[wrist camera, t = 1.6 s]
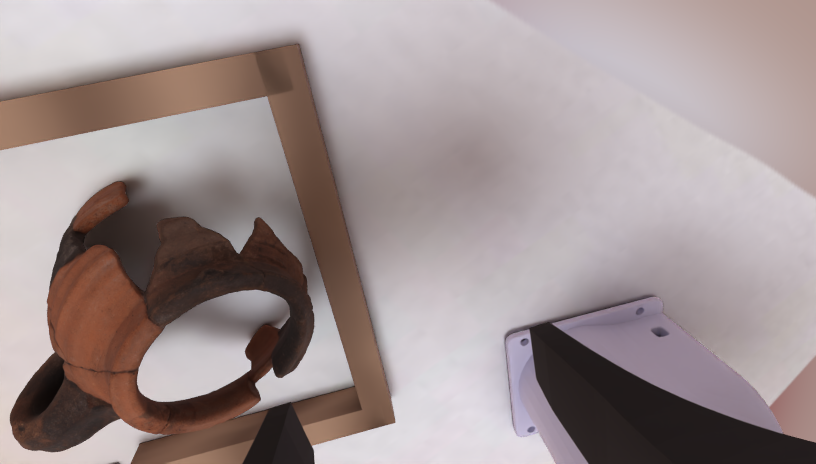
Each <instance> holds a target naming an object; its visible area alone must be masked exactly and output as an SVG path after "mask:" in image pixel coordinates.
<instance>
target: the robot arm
mask: <svg viewBox="0 0 816 464" xmlns="http://www.w3.org/2000/svg"><path fill="white" fill-rule="evenodd" d="M638 308H639V309H638ZM637 309H638V310H637ZM636 310H637V311H636ZM524 338H526V339H525V340H524V341H522V342H520V341H521V340H522V339H524ZM505 344H506V354H507V364H508V374H509V384H510V394H511V404H512V414H513V424H514V430H515V433H516V435H517V436H519V437H525V436H528V435H532V434H535V433H539V434H540V436H541V438H542V439H543V441H544V443H545V445H546V447H547V449H548V450H549V452H550V454H551V456H552V458H553V459H554V461H555V463H556V464H816V443H815V442H811V441H807V440H803V439H799V438H795V437H791V436H788V435H785V434H783V432H782V430H781V427H780V425H779V423H778V421H777V420H776V418H775V416H774V414H773V413H772V411H771V410H770V408H769V407H768V405H767V404H766V402H765V401H764V400H763V398H762V397H761V396H760V395H759V394H758V392H757V391H756V390H755V389H754V388H753V387H752V386H751V385H750V384H749V383H748V382H747V381H746V380H745V379H744V378H743V377H742V376H740V375H739V374H738V373H737V372H735V371H734V370H733V369H732V368H730V367H729V366H728V365H727V364H725V363H724V362H723V361H722V360H720V359H719V358H718V357H717V356H715V355H714V354H713V353H712V352H710V351H709V350H708V349H707V348H705V347H704V346H703V345H702V344H700V343H699V342H698V341H697V340H695V339H694V338H693V337H692V336H690V335H689V334H688V333H687V332H685V331H684V330H683V329H682V328H680V327H679V326H678V325H677V324H675V323H674V322H673V321H672V320H670V319H669V318H668V317H667V316H665V315H664V314H663V301H662V300H661V299H659V298H658V297H650V298H646V299H642V300H638V301H634V302H631V303H627V304H623V305H619V306H616V307H612V308H608V309H604V310H600V311H597V312H593V313H589V314H585V315H581V316H578V317H574V318H570V319H566V320H562V321H559V322H555V323H549V322H547V323H544V324H541V325H538V326H535V327H531V328H529V329H528V330H525V331H521V332H517V333H513V334H511V335H509V336H508V337H507V339H506V341H505ZM242 464H315V462H314V450H313V448H312V446H311V444H310V442H309V440H308V437H307V435H306V433H305V431H304V429H303V427H302V425H301V423H300V421H299V419H298V416H297V414H296V412H295V410H294V408H293V406H292V404H291V402H289V403H286V404H283V405H280V406H276V407H273V408H270V409H269V411H268V412H267V414H266V416H265V418H264V420H263V422H262V425H261V427H260V429H259V431H258V433H257V435H256V437H255V439H254V441H253V443H252V445H251V447H250V449H249V451H248V453H247V455H246V457H245V459H244V461H243V463H242Z"/></svg>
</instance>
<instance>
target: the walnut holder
mask: <svg viewBox="0 0 816 464" xmlns="http://www.w3.org/2000/svg"><path fill="white" fill-rule="evenodd" d="M265 96H267V97H268V100H269V103H270V107H271V110H272V113H273V116H274V120H275V123H276V126H277V130H278V133H279V136H280V140H281V143H282V146H283V149H284V153H285V156H286V159H287V163H288V166H289V169H290V173H291V176H292V179H293V183H294V186H295V189H296V192H297V196H298V199H299V202H300V206H301V209H302V212H303V216H304V219H305V222H306V226H307V229H308V232H309V235H310V239H311V242H312V245H313V249H314V252H315V255H316V259H317V262H318V265H319V269H320V272H321V275H322V278H323V282H324V285H325V288H326V292H327V295H328V298H329V302H330V305H331V308H332V311H333V315H334V318H335V321H336V325H337V328H338V331H339V335H340V338H341V341H342V345H343V348H344V351H345V354H346V358H347V361H348V364H349V368H350V371H351V374H352V378H353V381H354V384H355V387H352V388H348V389H344V390H340V391H337V392H333V393H329V394H325V395H322V396H318V397H314V398H310V399H307V400H303V401H299V402H295V403H291V404H292V406H293V408H294V410H295V412H296V414H297V416H298V419H299V421H300V423H301V425H302V427H303V429H304V431H305V433H306V435H307V437H308V440H309V442H310V444H311V446H312V445H316V444H320V443H323V442H327V441H330V440H334V439H338V438H341V437H345V436H349V435H352V434H356V433H359V432H363V431H367V430H370V429H374V428H378V427H381V426H385V425H388V424H392V423H396V422H395V417H394V411H393V406H392V401H391V396H390V392H389V389H388V385H387V381H386V377H385V373H384V369H383V365H382V362H381V358H380V354H379V350H378V346H377V342H376V338H375V335H374V331H373V327H372V323H371V319H370V315H369V312H368V308H367V304H366V300H365V296H364V292H363V288H362V285H361V281H360V277H359V273H358V269H357V265H356V261H355V258H354V254H353V250H352V246H351V242H350V238H349V235H348V231H347V227H346V223H345V219H344V215H343V211H342V208H341V204H340V200H339V196H338V192H337V188H336V184H335V181H334V177H333V173H332V169H331V165H330V161H329V157H328V154H327V150H326V146H325V142H324V138H323V134H322V131H321V127H320V123H319V119H318V115H317V111H316V107H315V104H314V100H313V96H312V92H311V88H310V84H309V80H308V77H307V73H306V69H305V65H304V61H303V57H302V54H301V50H300V46H299V44H295V45H290V46H285V47H280V48H274V49H269V50H264V51H259V52H254V53H249V54H243V55H238V56H233V57H228V58H223V59H218V60H213V61H207V62H202V63H197V64H192V65H187V66H182V67H176V68H171V69H166V70H161V71H156V72H151V73H145V74H140V75H135V76H130V77H125V78H120V79H114V80H109V81H104V82H99V83H94V84H89V85H83V86H78V87H73V88H68V89H63V90H58V91H52V92H47V93H42V94H37V95H32V96H27V97H22V98H16V99H11V100H6V101H1V102H0V150H4V149H9V148H14V147H19V146H24V145H28V144H33V143H38V142H43V141H48V140H53V139H58V138H63V137H68V136H73V135H78V134H83V133H88V132H93V131H97V130H102V129H107V128H112V127H117V126H122V125H127V124H132V123H137V122H142V121H147V120H152V119H157V118H161V117H166V116H171V115H176V114H181V113H186V112H191V111H196V110H201V109H206V108H211V107H216V106H221V105H226V104H230V103H235V102H240V101H245V100H250V99H255V98H260V97H265ZM268 411H269V410H265V411H261V412H258V413H254V414H250V415H246V416H243V417H239V418H235V419H231V420H228V421H225V422H223V423H220V424H217V425H214V426H212V427H210V428H206V429H202V430H199V431H194V432H187V433H180V434H175V435H171V436H167V437H164V438H160V439H156V440H152V441H149V442H145V443H141V444H139V447H138V449H137V451H136V453H135V455H134V457H133V460H132V462H131V464H242V463H243V461H244V459H245V457H246V455H247V453H248V451H249V449H250V447H251V445H252V443H253V441H254V439H255V437H256V435H257V433H258V431H259V429H260V427H261V425H262V422H263V420H264V418H265V416H266V414H267V412H268Z"/></svg>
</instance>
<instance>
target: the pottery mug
mask: <svg viewBox="0 0 816 464" xmlns="http://www.w3.org/2000/svg"><path fill="white" fill-rule="evenodd" d="M125 192H126V185H125V184H124V183H123V182H114V183H112V184H111V185H109V186H107V187H105V188H103V189H102V190H100V191H99V192H98V193H96V194H95V195H94V196H93V197H91V198H90V199H89V200H88V201H87V202H86V203H85V204H84V205H83V207H82V208H81V209H80V210H79V212H78V213H77V215H76V216H74V218H73V220H72V222H71V224H70V226H69V227H68V229H67V230H66V231H65V233H64V235H63V237H62V240H61V243H60V247H59V252H58V253H57V258H56V262H55V265H54V268H53V272H52V277H51V281H50V287H49V294H48V298H47V304H48V309H47V321H48V326H49V335H50V340H51V343H52V347H53V350H54V351H55V353H54V354H52V355H51V356H50V357H49V358H48V360H47V361H46V362H45V363H44V364H43V365H42V366H41V367H40V368H39V370H38V371H37V372H36V373H35V374H34V375H33V377H32V378H31V379H30V381H29V382H28V383H27V385H26V386H25V388H24V389H23V391H22V392H21V393H20V395H19V397H18V398H17V400H16V403H15V405H14V407H13V409H12V411H11V414H10V423H11V426H12V431H13V435H14V438H15V439H16V440H17V441H18V442H19V444H20V445H21V446H22V447H23V448H25V449H28V450H32V451H37V450H42V451H46V452H59V451H64V450H66V449H69V448H71V447H73V446H76V445H78V444H80V443H82V442H84V441H86V440H87V439H89V438H90V437H92V436H93V435H94V434H95V433H96V432H98V431H99V430H100V429H102V428H104V427H105V426H107V425H108V424H110V423H111V422H113V421H116V420H118V419H122V420H123V421H124V422H126V423H128V424H129V425H131V426H132V427H134V428H136V429H138V430H141V431H144V432H148V433H152V434H164V435H170V434H180V433H187V432H194V431H199V430H202V429H206V428H210V427H212V426H214V425H217V424H220V423H223V422H225V421H227V420H230V419H232V418H234V417H236V416H238V415H240V414H242V413H244V412H245V411H247V410H249V409H250V408H252V407H253V406H255V405H256V404H257V403H258V402H259V401H260V400H261V398H260V394H259V391H258V389H257V388H256V386H255V383H256V382H257V381H258V380H259V379H261V378H262V377H263V376H264V375H265V374H267V373H268V372H269V371H270V369H271V368H272V367H273V370H274V373H275V375H276V377H278V378H282V377H284V376H285V375H287V374H289V373H290V372H292V371H294V369H295V368H296V367H297V366H298V364H299V363H300V361H301V360H302V358H303V356H304V354H305V353H306V350H307V347H308V346H309V343H310V341H311V338H312V334H313V330H314V313H313V311H312V309H313V306H312V303H311V299H310V297H309V295H308V294H307V279H306V276H305V275H304V274H303V268H302V264H301V263H300V261H299V260H298V259H297V258H296V257H295V256H294V255H293V254H292V253H291V252H290V251H289V250H288V249H287V248H286V247H285V246H284V245H283V244H282V242H281V241H280V240H279V239H278V238H277V237H276V235H275V234H274V232H273V230H272V229H271V228H270V227H269V226H268V225H267V224H266V223H265V222H264V221H263V220H262V219H261V218H256V219H255V221H254V230H253V232H252V235H251V236H250V237H249V239H248V241H247V242H246V244H245V246H244V247H243V249H242V250H241V252H240V254H238V253H237V252H236V251H235V249H234V248H233V246H232V244H231V243H230V241H229V240H228V239H226V238H224V237H223V236H222V235H221V234H219V233H217V232H215V231H213V230H210V229H207V228H204V227H202V226H200V225H199V224H198V223H197V222H196V221H195V220H193V219H192V218H189V217H176V218H166V219H163V220H161V221H159V222H158V223H157V225H156V226H157V231H158V234H159V239H160V241H161V245H160V247H159V248H158V250H157V253H156V256H155V262H154V269H153V271H152V274H151V277H150V280H149V284H148V286H147V289H146V291H145V292H144V291H142V290H141V289H140V288H139V287H138V286H136V285H135V284H134V282H133V281H132V280H131V279H130V278H129V276H128V275H127V273H126V272H125V270H124V267H123V265H122V262H121V260H120V257H119V255H118V254H117V253H116V252H115V251H114V250H113V249H111V248H108V247H107V246H105V245H94V246H92V247H91V248H89V249H88V250H87V251H86V249H85V247H84V245H83V243H84V239H85V236H86V234H87V233H88V232H89V231H90V230H92V229H93V228H94V227H95V226H96V225H98V224H99V223H100V222H102V221H103V220H104V219H105V218H107V217H108V216H110V215H112V214H113V213H115V212H116V211H118V210H119V209H121V208H123V207H124V206H126V205H127V204H128V202H129V199H128V197H127V195H126V193H125ZM243 290H261V291H267V292H270V293H272V294H275V295H278V296H280V297H282V298H283V299H285V300H286V301H287V303H288V305H289V307H290V317H289V319H288V320H287V321H286V323H285V324H284V325H283V326H282V328H281V329H278V328H275V327H272V326H269V325H263V326H262V327H261V328H260V329H259V330H258V331H257V333H256V334H255V335H254V336H253V338H252V339H251V341H250V342H249V344H248V345H247V347H246V350H245V354H246V357H247V358H248V359H249V360H250V361H251V370H250V371H249V372H247V373H246V374H244V375H243V376H242V377H240V378H238V379H237V380H235V381H233V382H232V383H230V384H228V385H226V386H224V387H222V388H220V389H218V390H216V391H213V392H211V393H209V394H206V395H202V396H198V397H194V398H190V399H186V400H181V401H174V402H157V401H153V400H150V399H149V398H147V397H145V396H144V395H142V394H141V393H140V391H139V389H138V385H137V375H138V369H139V366H140V364H141V361H142V359H143V357H144V355H145V353H146V352H147V350H148V349H149V347H150V346H151V344H152V343H153V342H154V340H155V339H156V338H157V337H158V336H159V334H160V333H161V332H162V331H163V329H164V328H165V326H166V325H167V324H169V323H171V322H172V321H174V320H175V319H177V318H178V317H180V316H181V315H182V314H184V313H185V312H187V311H188V310H190V309H192V308H193V307H195V306H197V305H199V304H201V303H203V302H205V301H207V300H210V299H213V298H216V297H219V296H222V295H225V294H228V293H233V292H238V291H243Z"/></svg>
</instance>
